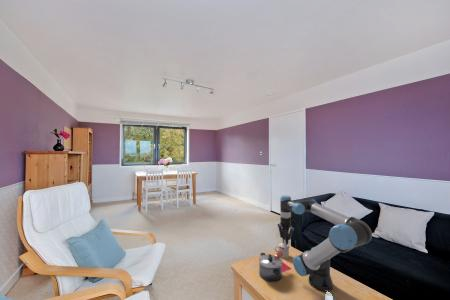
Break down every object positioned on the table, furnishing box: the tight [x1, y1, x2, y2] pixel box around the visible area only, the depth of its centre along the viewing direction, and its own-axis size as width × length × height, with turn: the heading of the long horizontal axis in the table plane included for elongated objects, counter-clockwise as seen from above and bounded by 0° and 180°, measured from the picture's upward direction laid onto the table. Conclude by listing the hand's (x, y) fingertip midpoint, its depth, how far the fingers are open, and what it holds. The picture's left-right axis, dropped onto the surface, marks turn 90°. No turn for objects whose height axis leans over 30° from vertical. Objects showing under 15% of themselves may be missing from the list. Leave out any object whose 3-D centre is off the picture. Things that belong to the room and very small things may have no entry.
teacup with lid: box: [274, 241, 290, 259], centre depth 174 cm, size 12×9×12 cm
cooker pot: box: [258, 252, 283, 283], centre depth 149 cm, size 26×16×9 cm, turn 12°
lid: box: [258, 251, 283, 269], centre depth 149 cm, size 23×17×4 cm
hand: (285, 248), depth 150 cm, fingers closed
